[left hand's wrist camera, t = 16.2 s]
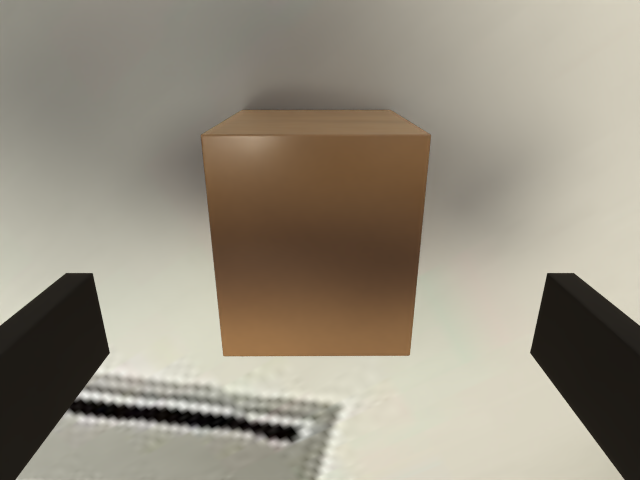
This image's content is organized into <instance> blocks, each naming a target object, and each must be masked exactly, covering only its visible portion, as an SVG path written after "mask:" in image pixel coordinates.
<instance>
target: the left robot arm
mask: <svg viewBox="0 0 640 480" xmlns="http://www.w3.org/2000/svg"><path fill="white" fill-rule="evenodd" d="M109 353H110V352H109V347H108V343H107V338H106V333H105V329H104V324H103V319H102V315H101V310H100V305H99V301H98V296H97V291H96V287H95V282H94V277H93V273H66V274H65V275H63V276H62V277H61V278H59V279H58V280H57V281H56V282H54V283H53V284H52V285H51V286H49V287H48V288H47V289H46V290H44V291H43V292H42V293H41V294H39V295H38V296H37V297H36V298H34V299H33V300H32V301H31V302H29V303H28V304H27V305H26V306H24V307H23V308H22V309H21V310H19V311H18V312H17V313H16V314H14V315H13V316H12V317H11V318H9V319H8V320H7V321H6V322H4V323H3V324H2V325H1V326H0V480H15V479H16V478H17V477H18V475H19V474H20V473H21V471H22V470H23V469H24V467H25V466H26V465H27V463H28V462H29V461H30V459H31V458H32V457H33V455H34V454H35V453H36V451H37V450H38V449H39V447H40V446H41V445H42V443H43V442H44V441H45V439H46V438H47V436H48V435H49V434H50V432H51V431H52V430H53V428H54V427H55V426H56V424H57V423H58V422H59V420H60V419H61V418H62V416H63V415H64V414H65V412H66V411H67V410H68V408H69V407H70V406H71V404H72V403H73V402H74V400H75V399H76V398H77V396H78V395H79V394H80V392H81V391H82V389H83V388H84V387H85V385H86V384H87V383H88V381H89V380H90V379H91V377H92V376H93V375H94V373H95V372H96V371H97V369H98V368H99V367H100V365H101V364H102V363H103V361H104V360H105V359H106V357H107V356H108V355H109ZM530 353H531V355H532V356H533V357H534V359H535V360H536V361H537V363H538V364H539V365H540V367H541V368H542V369H543V371H544V372H545V373H546V375H547V376H548V377H549V379H550V380H551V381H552V383H553V384H554V385H555V387H556V388H557V389H558V391H559V392H560V394H561V395H562V396H563V398H564V399H565V400H566V402H567V403H568V404H569V406H570V407H571V408H572V410H573V411H574V412H575V414H576V415H577V416H578V418H579V419H580V420H581V422H582V423H583V424H584V426H585V427H586V428H587V430H588V431H589V432H590V434H591V435H592V436H593V438H594V439H595V441H596V442H597V443H598V445H599V446H600V447H601V449H602V450H603V451H604V453H605V454H606V455H607V457H608V458H609V459H610V461H611V462H612V463H613V465H614V466H615V467H616V469H617V470H618V471H619V473H620V474H621V475H622V477H623V478H624V479H625V480H640V326H639V325H638V324H637V323H636V322H634V321H633V320H632V319H631V318H629V317H628V316H627V315H626V314H624V313H623V312H622V311H621V310H619V309H618V308H617V307H616V306H614V305H613V304H612V303H611V302H609V301H608V300H607V299H606V298H604V297H603V296H602V295H601V294H599V293H598V292H597V291H596V290H594V289H593V288H592V287H591V286H589V285H588V284H587V283H586V282H584V281H583V280H582V279H581V278H579V277H578V276H577V275H575V274H574V273H547V277H546V282H545V287H544V291H543V296H542V301H541V305H540V310H539V315H538V319H537V324H536V329H535V333H534V338H533V343H532V347H531V352H530Z"/></svg>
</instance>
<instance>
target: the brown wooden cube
mask: <svg viewBox="0 0 640 480" xmlns="http://www.w3.org/2000/svg"><path fill="white" fill-rule="evenodd" d="M430 140H431V135H430V134H429V133H427V132H425V131H424V130H422V129H421V128H419V127H417V126H416V125H414V124H413V123H411V122H409V121H408V120H406V119H404V118H403V117H401V116H400V115H398V114H396V113H395V112H393V111H391V110H241V111H240V112H238V113H236V114H235V115H233V116H231V117H230V118H228V119H226V120H225V121H223V122H221V123H220V124H218V125H216V126H215V127H213V128H211V129H210V130H208V131H206V132H205V133H203V134H202V135H201V142H202V152H203V162H204V172H205V182H206V191H207V201H208V211H209V221H210V231H211V240H212V250H213V260H214V270H215V280H216V289H217V299H218V309H219V319H220V329H221V338H222V348H223V356H409V355H410V348H411V337H412V327H413V317H414V306H415V296H416V285H417V275H418V265H419V254H420V244H421V233H422V223H423V213H424V202H425V192H426V182H427V171H428V161H429V150H430Z"/></svg>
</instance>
